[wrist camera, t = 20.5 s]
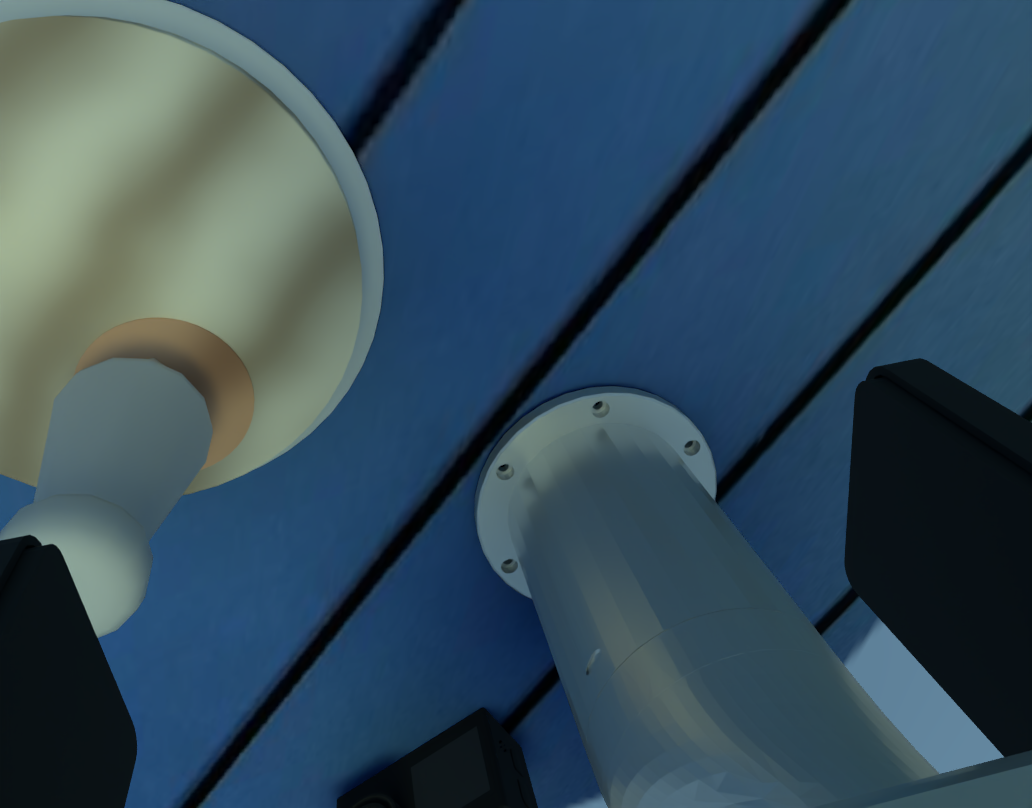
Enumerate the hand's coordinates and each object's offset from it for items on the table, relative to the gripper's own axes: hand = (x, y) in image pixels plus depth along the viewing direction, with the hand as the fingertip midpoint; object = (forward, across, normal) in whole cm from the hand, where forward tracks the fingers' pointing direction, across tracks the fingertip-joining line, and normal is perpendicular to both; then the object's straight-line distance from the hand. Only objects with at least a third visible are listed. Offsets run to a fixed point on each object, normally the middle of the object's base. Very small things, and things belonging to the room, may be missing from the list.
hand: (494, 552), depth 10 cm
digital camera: (+29, +3, +34) cm, 45 cm away
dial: (+29, +11, +3) cm, 31 cm away
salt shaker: (+26, +11, +8) cm, 30 cm away
